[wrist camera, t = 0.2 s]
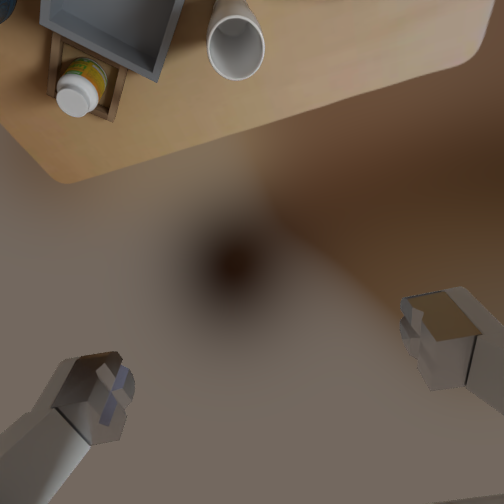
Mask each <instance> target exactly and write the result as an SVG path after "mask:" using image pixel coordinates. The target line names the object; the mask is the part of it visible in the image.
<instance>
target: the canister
mask: <svg viewBox="0 0 504 504" xmlns="http://www.w3.org/2000/svg"><path fill="white" fill-rule="evenodd" d="M16 2H17V0H0V24H1V23H3V22H4V21H5V20H7V19H8V18H9V17H10V15H11V14H12V12H13V10H14V8H15V5H16Z"/></svg>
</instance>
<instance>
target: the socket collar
mask: <svg viewBox="0 0 504 504" xmlns="http://www.w3.org/2000/svg"><path fill="white" fill-rule="evenodd" d="M64 42H65V43H67V44H69V45H71V46H73V47H75V48H77V49H79V50H81V51H83V52H85V53H87V54H89V55H91V56H93V57H95V58H97V59H99V60H101V61H103V62H105V63H107V64H109V65H111V66H113V67H115V68H117V69H119V72H118V77H117V81H116V85H115V89H114V93H113V97H112V101H111V105H110V109H109V108H106V107H104V106H102V105H100V104H97V106H96V108H95V109H94V110H92V111H91V112H89V113H91V114H94V115H96V116H99V117H101V118H103V119H106V120H108V121H110V122H114V119H115V117H116V113H117V109H118V105H119V101H120V98H121V94H122V90H123V86H124V82H125V78H126V74H127V71H128V68H126V67H124V66H122V65H120V64H118V63H116V62H114V61H112V60H110V59H108V58H106V57H104V56H102V55H100V54H98V53H96V52H94V51H92V50H90V49H88V48H86V47H84V46H82V45H80V44H78V43H76V42H74V41H72V40H70V39H68V38H66V37H64V36H62V35H60V34H58V33H56V32H54V31H53V33H52V44H51V54H50V65H49V75H48V86H47V95H49V96H51V97H54V98H56V96H57V83H58V81H59V77H60V69H61V61H62V52H63V44H64Z"/></svg>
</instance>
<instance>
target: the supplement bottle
mask: <svg viewBox="0 0 504 504" xmlns="http://www.w3.org/2000/svg"><path fill="white" fill-rule="evenodd" d="M106 86H107V77H106V74H105V72H104V70H103V69H102V67H101V66H100V65H99V64H98V63H96V62H95V61H93V60H91V59H88V58H78V59H76V60H74V61H73V62H72V63H71V64H70V66H69V67H68V68H67V70H66V71H65V72H64V74H63V75H62V76H61V78H60V79H59V81H58V83H57V96H56V100H57V103H58V105H59V107H60V108H61V109H62V110H63V111H64V112H65V113H66V114H68V115H70V116H73V117H82V116H84V115H85V114H86V113H88V112H91V111H92V110H94V109H95V108H96V106H97V104H98V102H99V100H100V98H101V96H102V94H103V92H104V91H105V89H106Z"/></svg>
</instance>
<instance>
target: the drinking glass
mask: <svg viewBox="0 0 504 504" xmlns="http://www.w3.org/2000/svg"><path fill="white" fill-rule="evenodd" d="M206 45H207V54H208V58H209V61H210V63H211V65H212V67H213V68H214V70H215V71H216V72H217V73H218V74H219V75H221V76H222V77H224V78H226V79H229V80H234V81H239V80H244V79H246V78H248V77H250V76H252V75H253V74H254V73H255V72H256V71H257V70H258V68H259V67H260V65H261V63H262V61H263V58H264V52H265V44H264V37H263V33H262V29H261V27H260V24H259V22H258V20H257V18H256V16H255V15H254V13H253V12H252V11H251V9H250V8H249V6H248V4H247V2H246V0H216V1H215V3H214V6H213V12H212V15H211V18H210V21H209V24H208V28H207V36H206Z"/></svg>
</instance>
